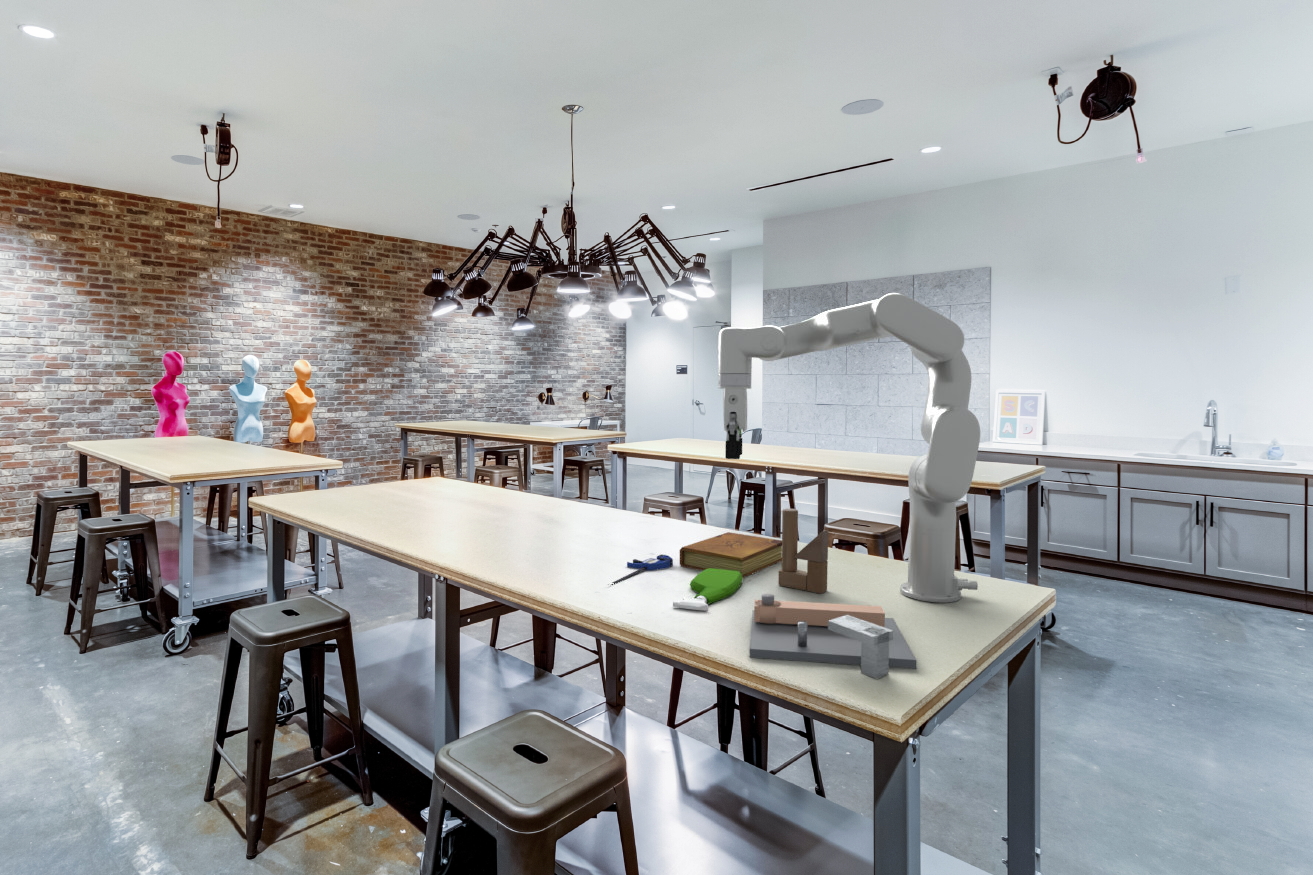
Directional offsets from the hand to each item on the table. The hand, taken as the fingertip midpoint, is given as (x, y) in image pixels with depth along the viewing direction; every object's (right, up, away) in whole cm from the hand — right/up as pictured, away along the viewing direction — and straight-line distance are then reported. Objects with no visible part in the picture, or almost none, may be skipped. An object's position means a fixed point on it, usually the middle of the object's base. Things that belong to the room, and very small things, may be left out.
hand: (734, 456), depth 149 cm
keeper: (+13, -33, -41) cm, 54 cm away
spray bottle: (-6, -31, -4) cm, 32 cm away
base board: (+13, -33, -31) cm, 47 cm away
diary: (+3, -30, +23) cm, 38 cm away
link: (+12, -30, -27) cm, 43 cm away
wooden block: (+16, -31, +1) cm, 35 cm away
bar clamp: (-25, -30, +11) cm, 41 cm away
